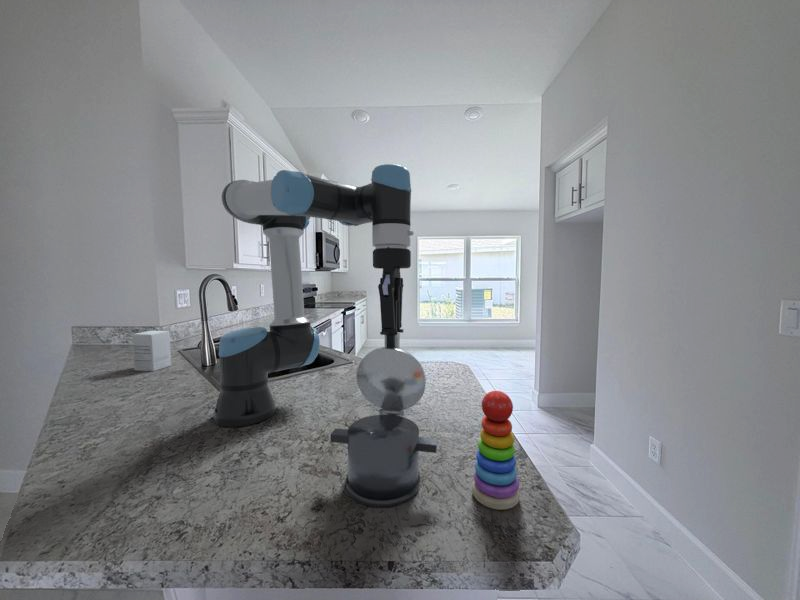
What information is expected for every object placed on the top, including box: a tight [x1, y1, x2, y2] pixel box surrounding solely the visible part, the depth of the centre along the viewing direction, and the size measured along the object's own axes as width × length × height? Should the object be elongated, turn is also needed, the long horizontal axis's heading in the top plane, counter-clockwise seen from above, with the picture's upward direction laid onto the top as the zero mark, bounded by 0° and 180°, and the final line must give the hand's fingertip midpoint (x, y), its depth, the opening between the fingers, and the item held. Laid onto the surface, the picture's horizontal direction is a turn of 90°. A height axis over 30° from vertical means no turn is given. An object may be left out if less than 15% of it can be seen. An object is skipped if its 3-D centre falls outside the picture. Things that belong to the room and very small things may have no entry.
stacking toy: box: [471, 390, 521, 511], centre depth 56 cm, size 8×8×19 cm
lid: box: [355, 346, 427, 418], centre depth 66 cm, size 14×15×4 cm
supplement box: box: [131, 330, 172, 372], centre depth 134 cm, size 9×9×15 cm
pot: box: [330, 414, 438, 509], centre depth 60 cm, size 20×14×10 cm
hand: (392, 365), depth 66 cm, fingers closed
